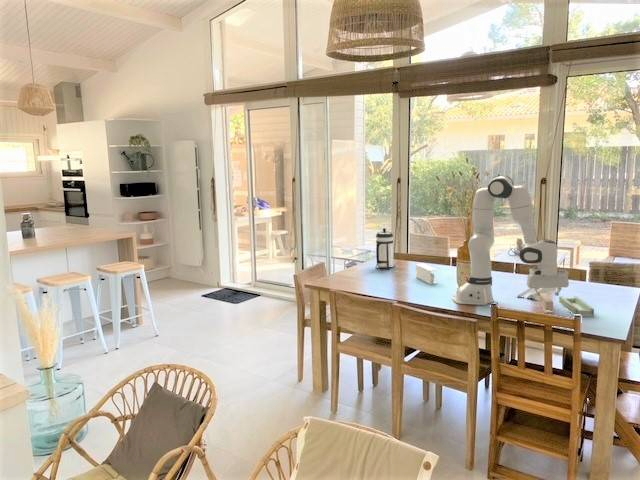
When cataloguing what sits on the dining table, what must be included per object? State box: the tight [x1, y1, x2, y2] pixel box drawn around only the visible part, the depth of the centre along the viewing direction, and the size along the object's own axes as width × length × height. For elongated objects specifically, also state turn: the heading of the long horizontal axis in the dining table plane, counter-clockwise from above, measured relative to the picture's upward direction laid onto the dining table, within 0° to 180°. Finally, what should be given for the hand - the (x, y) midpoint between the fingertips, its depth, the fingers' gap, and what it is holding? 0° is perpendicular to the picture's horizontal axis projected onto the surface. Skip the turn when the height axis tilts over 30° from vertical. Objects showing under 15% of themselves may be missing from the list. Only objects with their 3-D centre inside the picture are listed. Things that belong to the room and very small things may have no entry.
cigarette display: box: [415, 263, 438, 285], centre depth 324 cm, size 20×6×9 cm, turn 15°
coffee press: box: [375, 228, 396, 271], centre depth 361 cm, size 17×16×30 cm
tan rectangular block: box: [538, 293, 554, 312], centre depth 258 cm, size 4×16×6 cm, turn 166°
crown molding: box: [517, 288, 557, 300], centre depth 286 cm, size 31×12×4 cm, turn 136°
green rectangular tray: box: [558, 295, 595, 318], centre depth 254 cm, size 9×22×4 cm, turn 173°
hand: (547, 295), depth 257 cm, fingers open, 8 cm apart
